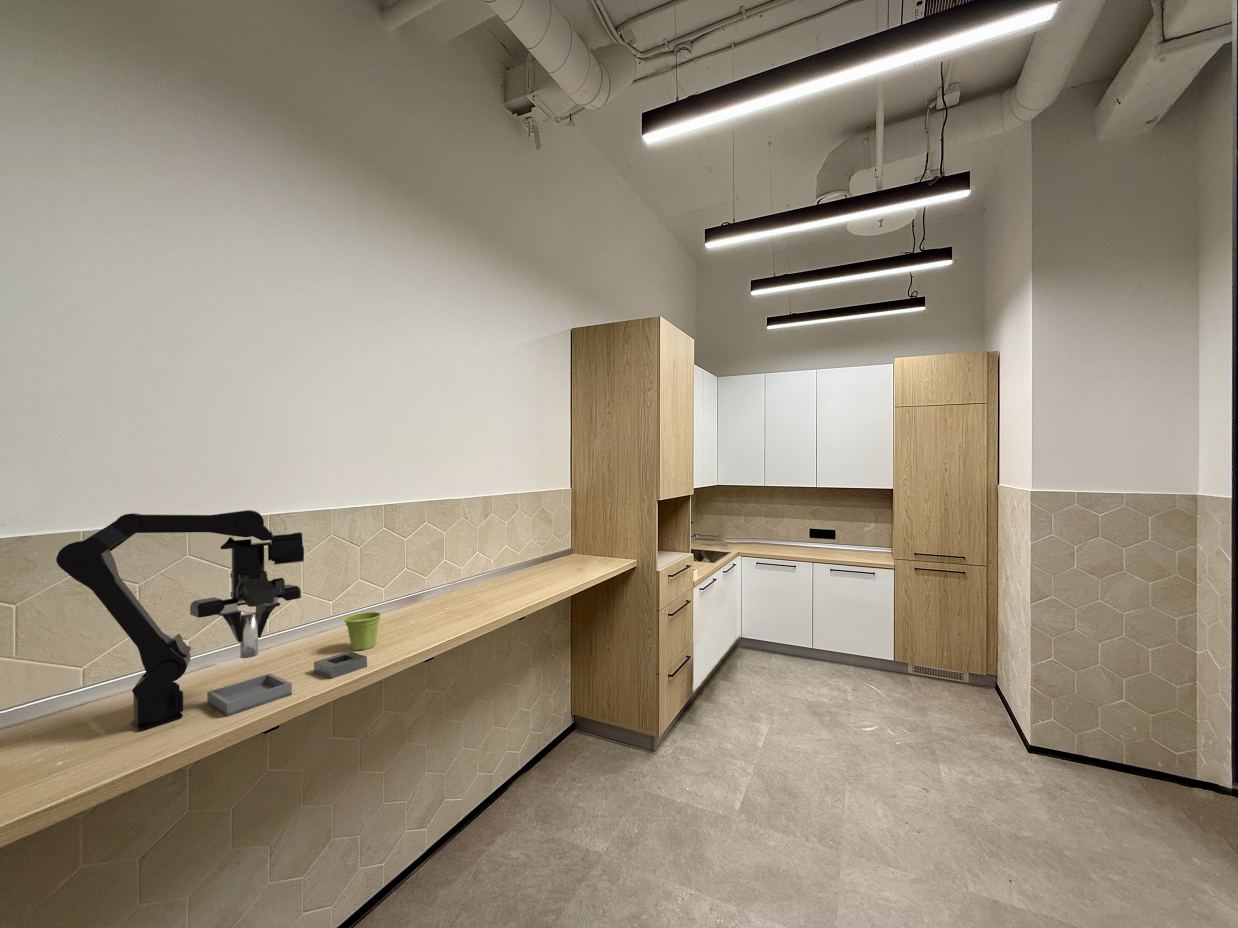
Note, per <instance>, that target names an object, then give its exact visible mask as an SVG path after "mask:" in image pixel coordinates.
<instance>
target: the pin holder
mask: <svg viewBox="0 0 1238 928" xmlns="http://www.w3.org/2000/svg"><path fill="white" fill-rule="evenodd" d="M364 667H365V668H367V667H368V657H367V656H365V655H363V654H360V653H356V652H353V651H352V650H351V651H350V650H348V651H345V652H342V653H338V654H335V655H332V656H329V657H325V658H323V659H318V660H315V661H313V673H316V674H318V675H321V676H323V677H326V678H328V679H335V678H337V677H341V676H344V675H347V674H351V673H352V671H353V672H355V670H356V671H358V669H359V670H361V668H362V669H364Z"/></svg>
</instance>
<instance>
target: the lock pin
mask: <svg viewBox="0 0 1238 928" xmlns="http://www.w3.org/2000/svg"><path fill="white" fill-rule="evenodd" d="M240 624H241V633H242V639H241V642H239V658H240V659H249V658H250V659H251V658H254V657H256V656H258V655H259V638H258V612H256V611H251V612H245V613H241V615H240Z"/></svg>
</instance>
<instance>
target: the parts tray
mask: <svg viewBox="0 0 1238 928" xmlns="http://www.w3.org/2000/svg"><path fill="white" fill-rule="evenodd" d="M292 684H293V683H292V682H290V681H288V680H286V679H284V678H282V677H279V676H276V675H274V674H272V673H271V672H269V673H266V674H265V673H264V674H263V675H259V676H255V677H253V678H249V679H246V680H243V681H240V682H239V681H238V682H236V683H233V684H228V685H226V686H223V687H219V688H216V689H212V690H210V691H207V692H206V695H207V701H206V702H207V705H209V706H211V708H213V709H215V710H217V711H218V712H220V713H221V714H223V715H224V716H226V717H231V716H233V715H235V714H239V713H241V712H245V711H248V710H250V709H253V708H256V707H260V706H263V705H265V704H268V702H269V703H272V702H275V701H277V700H280V699H282V698H286V697H288V696H292V695H293V690H292V689H293V688H292V687H293V686H292Z"/></svg>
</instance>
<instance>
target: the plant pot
mask: <svg viewBox="0 0 1238 928" xmlns="http://www.w3.org/2000/svg"><path fill="white" fill-rule="evenodd" d="M381 616H382V613H381V612H378V611H369V612H360V613H355V614H352V615H350V616H347V617H345V618H343V622H344V623H345V625H346V627H347V632H348V638H349V642H350V648H351V651H360V650H362V651H363V650H364V651H365V650H369V649H372V648H373V647H375V646H376V644H377V639H378V638H377V636H378V628H379V622H380V618H381Z"/></svg>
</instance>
